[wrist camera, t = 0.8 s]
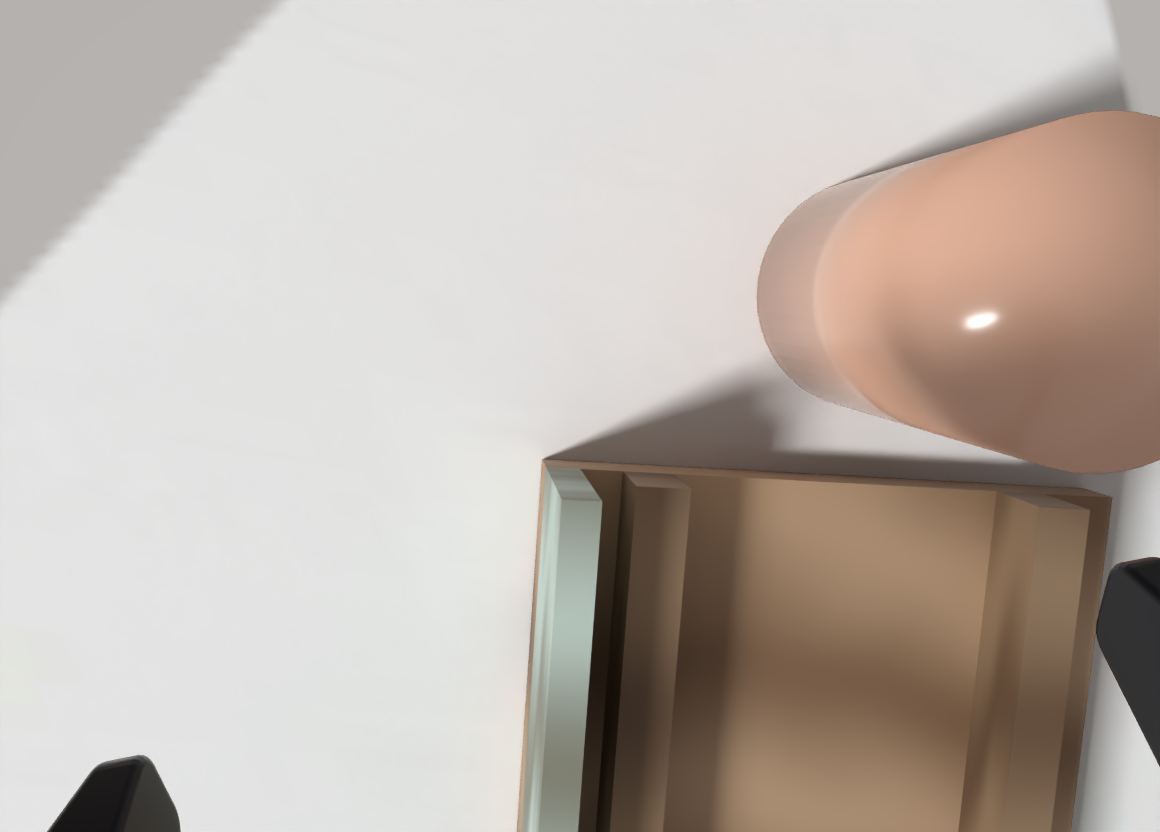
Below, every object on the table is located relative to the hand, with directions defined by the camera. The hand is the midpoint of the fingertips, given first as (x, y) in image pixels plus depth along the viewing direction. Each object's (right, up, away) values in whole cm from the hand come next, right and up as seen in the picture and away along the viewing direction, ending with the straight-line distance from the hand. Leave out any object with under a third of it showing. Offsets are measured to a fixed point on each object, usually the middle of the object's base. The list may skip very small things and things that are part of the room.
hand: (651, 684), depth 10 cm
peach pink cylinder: (+6, +5, +17) cm, 19 cm away
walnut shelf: (+5, -4, +18) cm, 19 cm away
